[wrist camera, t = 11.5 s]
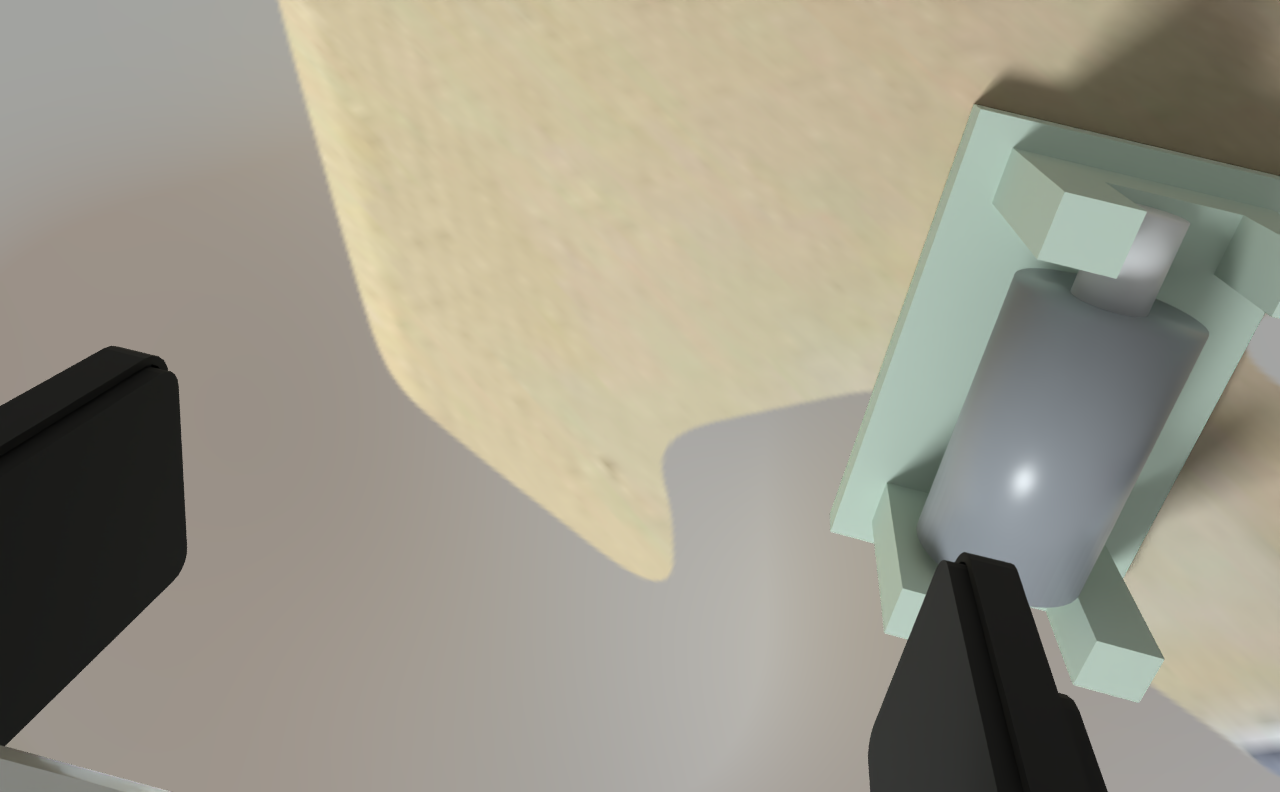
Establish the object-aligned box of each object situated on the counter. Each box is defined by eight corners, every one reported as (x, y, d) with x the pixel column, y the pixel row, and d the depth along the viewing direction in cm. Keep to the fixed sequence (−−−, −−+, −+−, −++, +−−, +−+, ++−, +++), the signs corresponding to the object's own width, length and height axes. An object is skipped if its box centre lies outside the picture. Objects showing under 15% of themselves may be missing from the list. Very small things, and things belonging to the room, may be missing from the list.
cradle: (973, 104, 34) (1024, 143, 26) (1308, 183, 33) (1469, 249, 25) (829, 513, 42) (834, 643, 34) (1098, 585, 41) (1169, 735, 33)
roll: (1075, 177, 32) (1025, 189, 28) (1264, 233, 30) (1244, 256, 25) (925, 550, 39) (866, 609, 35) (1067, 625, 36) (1022, 700, 32)
